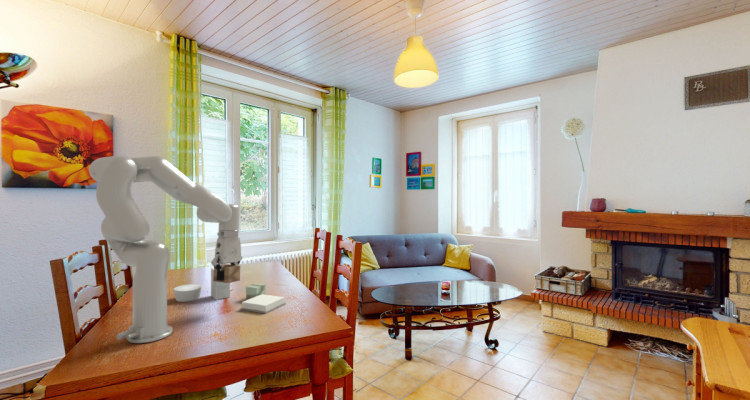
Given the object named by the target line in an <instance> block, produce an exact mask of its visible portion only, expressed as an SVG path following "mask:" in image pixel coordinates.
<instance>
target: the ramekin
mask: <svg viewBox="0 0 750 400" xmlns="http://www.w3.org/2000/svg"><path fill="white" fill-rule="evenodd" d="M201 291H202V285H201V284H194V283H193V284H192V283H191V284H190V283H189V284H182V285H179V286H176V287H174V288H173V293H174V297H175V301H177V302H179V303H181V302H182V303H185V302H192V301H196V300H198V299H199V298H200V296H201Z"/></svg>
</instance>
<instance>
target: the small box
mask: <svg viewBox="0 0 750 400" xmlns="http://www.w3.org/2000/svg"><path fill="white" fill-rule="evenodd" d="M213 278H214V267H211V268H210V297H212V298H213V299H214V300H216V301H217V300H220V299H221V300H223V299H228V298H230V297H231V283H223V282H216V281H213Z"/></svg>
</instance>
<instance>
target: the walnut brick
mask: <svg viewBox="0 0 750 400" xmlns="http://www.w3.org/2000/svg"><path fill="white" fill-rule="evenodd" d="M220 267H221V264H220ZM213 268H214V278H213V281H216V282H223V283H230V284H231V283H236V282H239V281H241V265H231V264H230V263H227V264H225V265H224V269H223V271H224V281H219V280H217V270H216V269H215V267H214V266H213Z"/></svg>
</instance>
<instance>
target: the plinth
mask: <svg viewBox="0 0 750 400" xmlns="http://www.w3.org/2000/svg"><path fill="white" fill-rule="evenodd" d="M285 305H287V304H286V302H285V297H284V296H278V295H271V294H266V295H264V294H261V295H259V296H256V297H254V298H251V299H249V300H246V299H245V300H244V301H242V303H241V307H240V310H241V311H247V312H254V313H259V314H268V313H270V312H273V311H275V310H277V309H278V308H281V307H283V306H285Z"/></svg>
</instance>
